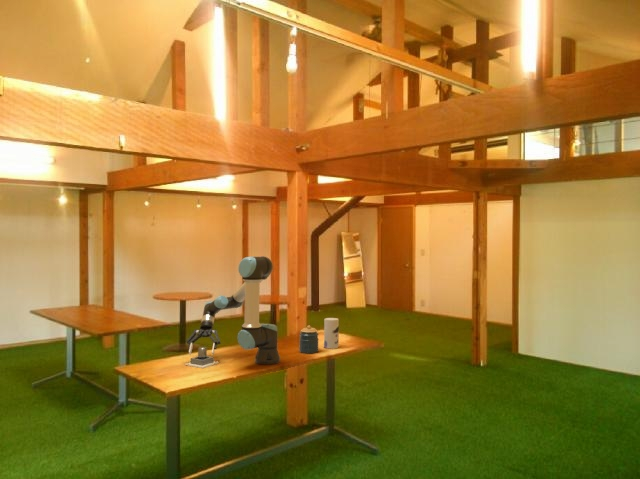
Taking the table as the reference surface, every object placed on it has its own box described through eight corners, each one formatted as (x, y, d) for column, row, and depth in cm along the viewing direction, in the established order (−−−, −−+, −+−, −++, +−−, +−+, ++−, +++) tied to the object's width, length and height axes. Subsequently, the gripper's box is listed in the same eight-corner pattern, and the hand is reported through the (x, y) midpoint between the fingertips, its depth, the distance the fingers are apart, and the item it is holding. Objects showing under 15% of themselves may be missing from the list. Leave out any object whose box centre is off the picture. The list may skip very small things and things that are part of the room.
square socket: (218, 363, 289) (219, 356, 289) (202, 368, 276) (202, 361, 276) (201, 360, 296) (201, 354, 296) (184, 365, 283) (185, 358, 283)
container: (337, 349, 328) (337, 320, 328) (322, 348, 330) (323, 319, 330) (339, 346, 337) (339, 317, 337) (325, 345, 339) (325, 317, 339)
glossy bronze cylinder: (208, 362, 287) (208, 347, 287) (202, 364, 283) (202, 349, 283) (202, 361, 290) (202, 346, 290) (196, 363, 285) (196, 348, 285)
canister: (315, 348, 329) (315, 323, 329) (321, 353, 316) (321, 326, 316) (296, 350, 324) (297, 324, 324) (302, 354, 312) (302, 327, 312)
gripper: (227, 327, 302) (223, 356, 286) (188, 327, 301) (181, 356, 286) (226, 320, 296) (221, 350, 281) (186, 320, 296) (179, 349, 281)
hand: (201, 353), depth 284 cm, fingers open, 13 cm apart
